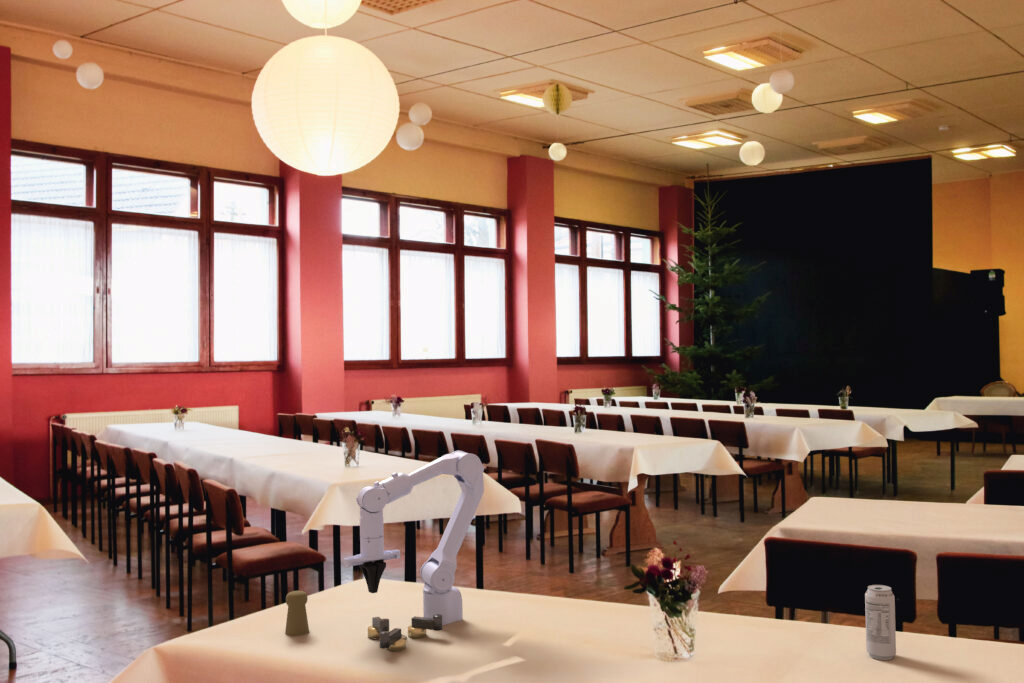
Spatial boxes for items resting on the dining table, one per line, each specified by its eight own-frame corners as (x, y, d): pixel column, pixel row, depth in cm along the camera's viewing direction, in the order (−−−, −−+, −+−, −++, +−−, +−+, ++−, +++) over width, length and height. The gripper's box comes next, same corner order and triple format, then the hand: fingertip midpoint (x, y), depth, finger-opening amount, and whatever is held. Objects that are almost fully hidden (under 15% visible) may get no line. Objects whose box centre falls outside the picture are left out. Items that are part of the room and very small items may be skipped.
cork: (303, 641, 216) (302, 595, 216) (280, 640, 217) (279, 594, 218) (314, 633, 222) (313, 588, 222) (291, 632, 223) (290, 588, 224)
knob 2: (392, 644, 209) (391, 621, 209) (409, 646, 208) (408, 623, 208) (373, 656, 201) (373, 633, 201) (391, 658, 199) (391, 635, 199)
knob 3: (404, 637, 214) (404, 615, 214) (413, 631, 218) (413, 610, 218) (437, 641, 211) (437, 618, 211) (446, 635, 215) (445, 613, 215)
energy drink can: (901, 656, 197) (899, 587, 198) (888, 662, 193) (886, 592, 194) (874, 649, 202) (872, 582, 202) (861, 656, 198) (859, 587, 198)
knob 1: (365, 634, 217) (364, 613, 217) (382, 631, 219) (382, 610, 219) (377, 645, 209) (376, 622, 209) (395, 642, 211) (394, 619, 211)
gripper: (389, 529, 228) (390, 583, 228) (337, 537, 219) (338, 594, 219) (404, 534, 222) (405, 589, 222) (350, 542, 214) (351, 600, 213)
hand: (372, 592), depth 220 cm, fingers closed
